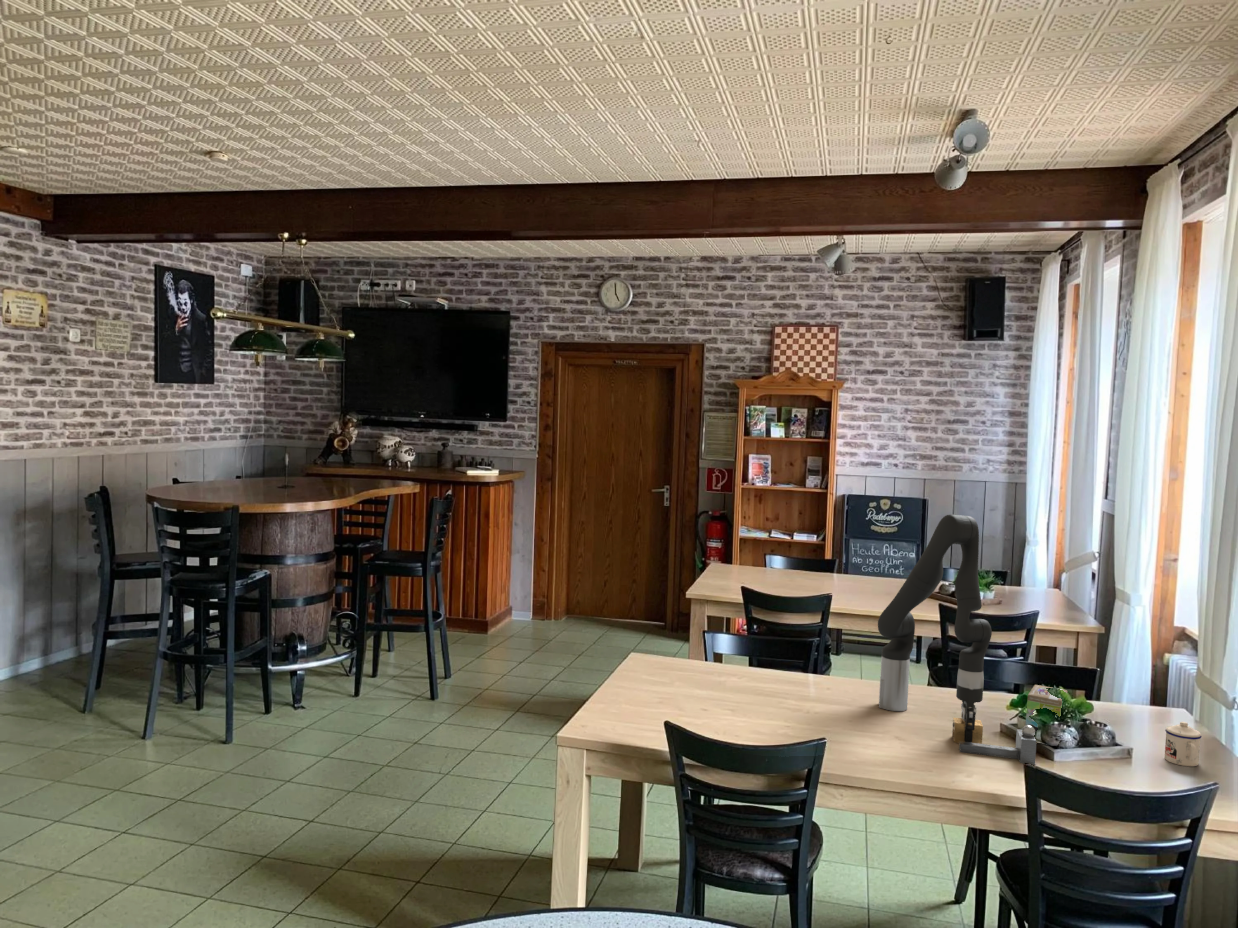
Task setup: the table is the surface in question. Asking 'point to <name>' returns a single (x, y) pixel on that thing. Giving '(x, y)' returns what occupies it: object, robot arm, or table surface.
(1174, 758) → the teacup with lid
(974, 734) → the tan wooden block
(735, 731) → the table surface
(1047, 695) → the tea box
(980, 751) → the coupler rail
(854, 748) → the table surface
